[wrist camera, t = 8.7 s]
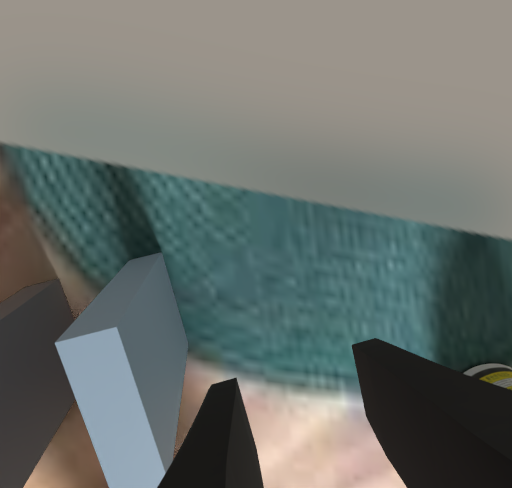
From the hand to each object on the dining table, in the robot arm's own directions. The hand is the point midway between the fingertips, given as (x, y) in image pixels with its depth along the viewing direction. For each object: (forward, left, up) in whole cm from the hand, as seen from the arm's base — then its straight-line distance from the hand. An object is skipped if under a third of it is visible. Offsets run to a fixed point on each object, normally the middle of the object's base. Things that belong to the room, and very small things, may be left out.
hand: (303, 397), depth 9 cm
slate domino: (0, +5, -10) cm, 12 cm away
